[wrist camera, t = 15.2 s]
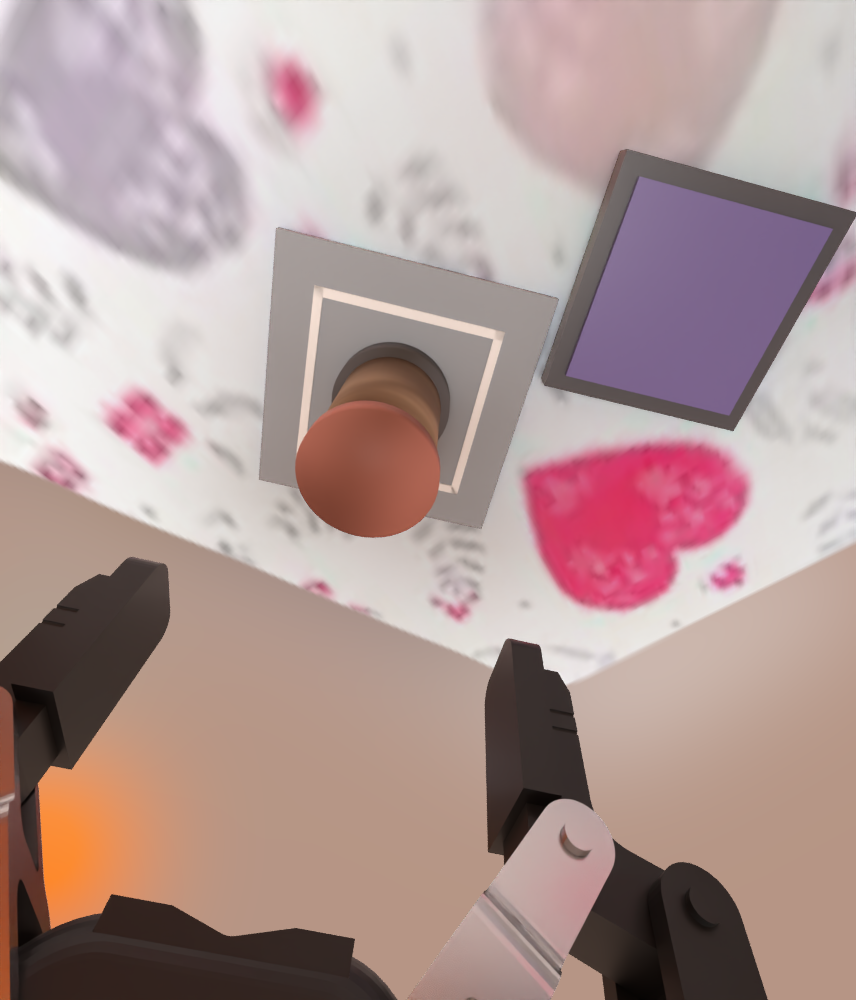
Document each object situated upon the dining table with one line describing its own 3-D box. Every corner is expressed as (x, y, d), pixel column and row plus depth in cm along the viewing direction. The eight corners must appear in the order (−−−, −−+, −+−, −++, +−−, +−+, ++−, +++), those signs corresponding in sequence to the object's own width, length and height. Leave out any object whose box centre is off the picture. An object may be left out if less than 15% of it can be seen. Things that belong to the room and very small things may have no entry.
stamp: (462, 358, 24) (463, 424, 17) (435, 462, 26) (425, 555, 20) (344, 329, 23) (297, 385, 17) (328, 437, 26) (282, 524, 19)
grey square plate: (556, 298, 23) (559, 300, 22) (481, 524, 29) (481, 529, 28) (278, 227, 22) (275, 228, 21) (261, 476, 28) (258, 480, 27)
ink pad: (841, 211, 20) (862, 212, 19) (724, 422, 25) (735, 433, 24) (620, 150, 20) (629, 148, 19) (541, 378, 24) (545, 387, 23)
